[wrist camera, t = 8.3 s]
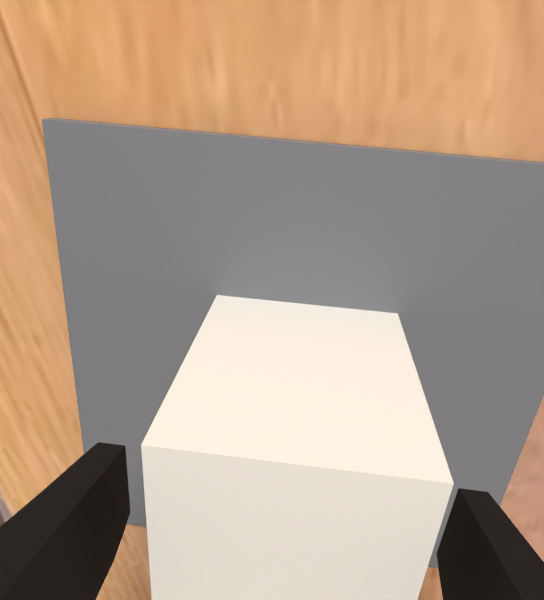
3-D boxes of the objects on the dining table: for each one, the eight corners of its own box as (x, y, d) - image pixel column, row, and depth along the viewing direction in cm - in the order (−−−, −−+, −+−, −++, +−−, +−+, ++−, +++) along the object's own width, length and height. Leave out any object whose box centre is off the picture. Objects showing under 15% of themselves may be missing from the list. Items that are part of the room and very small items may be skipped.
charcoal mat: (98, 508, 18) (92, 518, 17) (52, 118, 12) (42, 119, 11) (469, 559, 17) (473, 572, 17) (619, 169, 11) (631, 172, 11)
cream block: (214, 434, 15) (154, 630, 10) (216, 294, 13) (140, 445, 8) (369, 453, 15) (396, 666, 9) (397, 313, 13) (453, 483, 7)
